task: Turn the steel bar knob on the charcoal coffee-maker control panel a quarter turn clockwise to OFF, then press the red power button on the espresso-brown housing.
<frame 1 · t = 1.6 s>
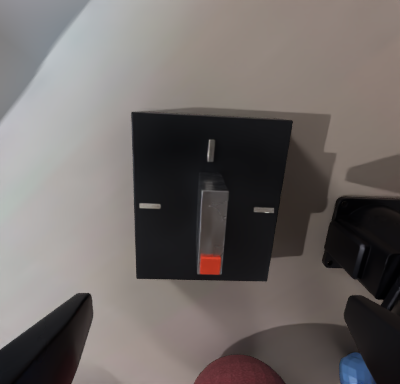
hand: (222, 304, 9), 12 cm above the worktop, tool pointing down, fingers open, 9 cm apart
dial panel: (205, 193, 20), on the worktop
blue bumpy cluster: (344, 358, 27), on the worktop
decorative ball: (232, 365, 26), on the worktop
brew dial: (209, 220, 15), point 5 cm above the worktop, hinge at 90.0°
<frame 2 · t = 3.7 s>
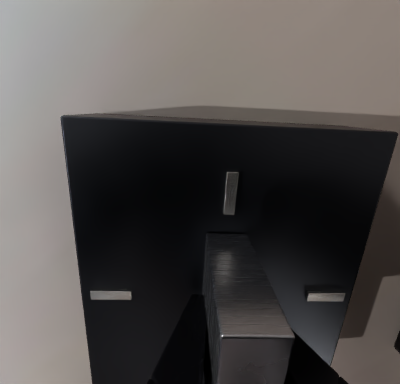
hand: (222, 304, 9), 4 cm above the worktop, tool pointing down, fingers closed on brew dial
dial panel: (213, 249, 12), on the worktop
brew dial: (230, 347, 7), point 5 cm above the worktop, hinge at 90.0°, touching gripper
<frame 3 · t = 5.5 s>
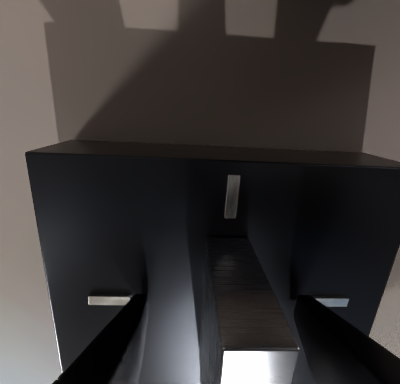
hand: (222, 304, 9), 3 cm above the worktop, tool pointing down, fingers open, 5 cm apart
dial panel: (213, 252, 12), on the worktop
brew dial: (231, 355, 7), point 5 cm above the worktop, hinge at 0.2°
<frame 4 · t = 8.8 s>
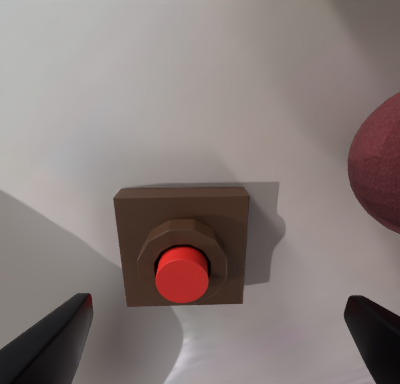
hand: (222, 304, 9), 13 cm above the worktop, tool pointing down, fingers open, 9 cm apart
decorative ball: (381, 148, 20), on the worktop
power button: (182, 274, 18), point 4 cm above the worktop, slide at 0.1 cm
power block: (184, 241, 22), on the worktop
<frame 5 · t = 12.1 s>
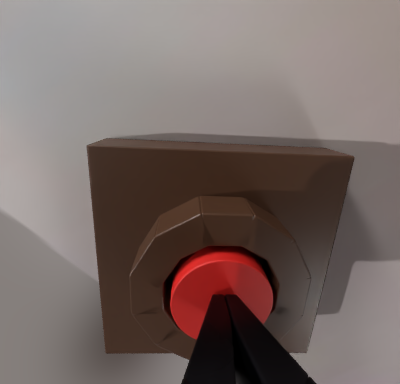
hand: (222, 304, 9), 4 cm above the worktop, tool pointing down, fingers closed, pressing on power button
power button: (219, 288, 10), point 4 cm above the worktop, slide at -0.8 cm, touching gripper
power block: (211, 241, 13), on the worktop
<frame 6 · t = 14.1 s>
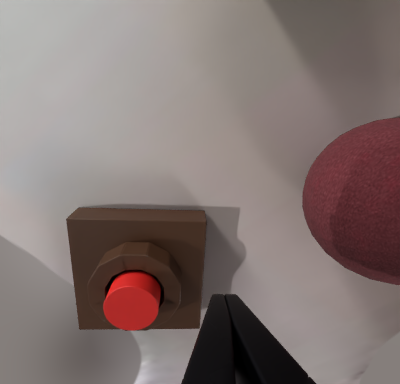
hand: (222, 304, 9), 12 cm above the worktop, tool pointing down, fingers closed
decorative ball: (339, 179, 21), on the worktop
power button: (133, 300, 17), point 4 cm above the worktop, slide at 0.1 cm
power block: (143, 262, 22), on the worktop
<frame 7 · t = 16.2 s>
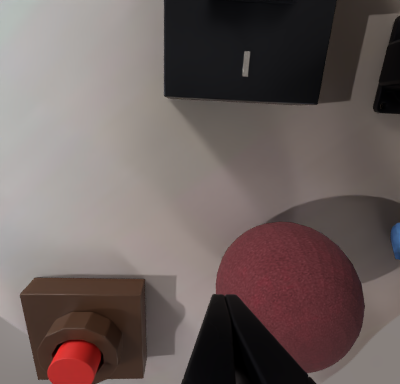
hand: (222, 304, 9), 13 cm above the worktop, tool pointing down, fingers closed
dial panel: (242, 8, 17), on the worktop
blue bumpy cluster: (389, 244, 24), on the worktop
decorative ball: (263, 251, 23), on the worktop
power button: (75, 364, 21), point 4 cm above the worktop, slide at 0.1 cm
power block: (94, 320, 25), on the worktop
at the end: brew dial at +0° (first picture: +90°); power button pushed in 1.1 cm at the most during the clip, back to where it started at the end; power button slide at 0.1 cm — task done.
